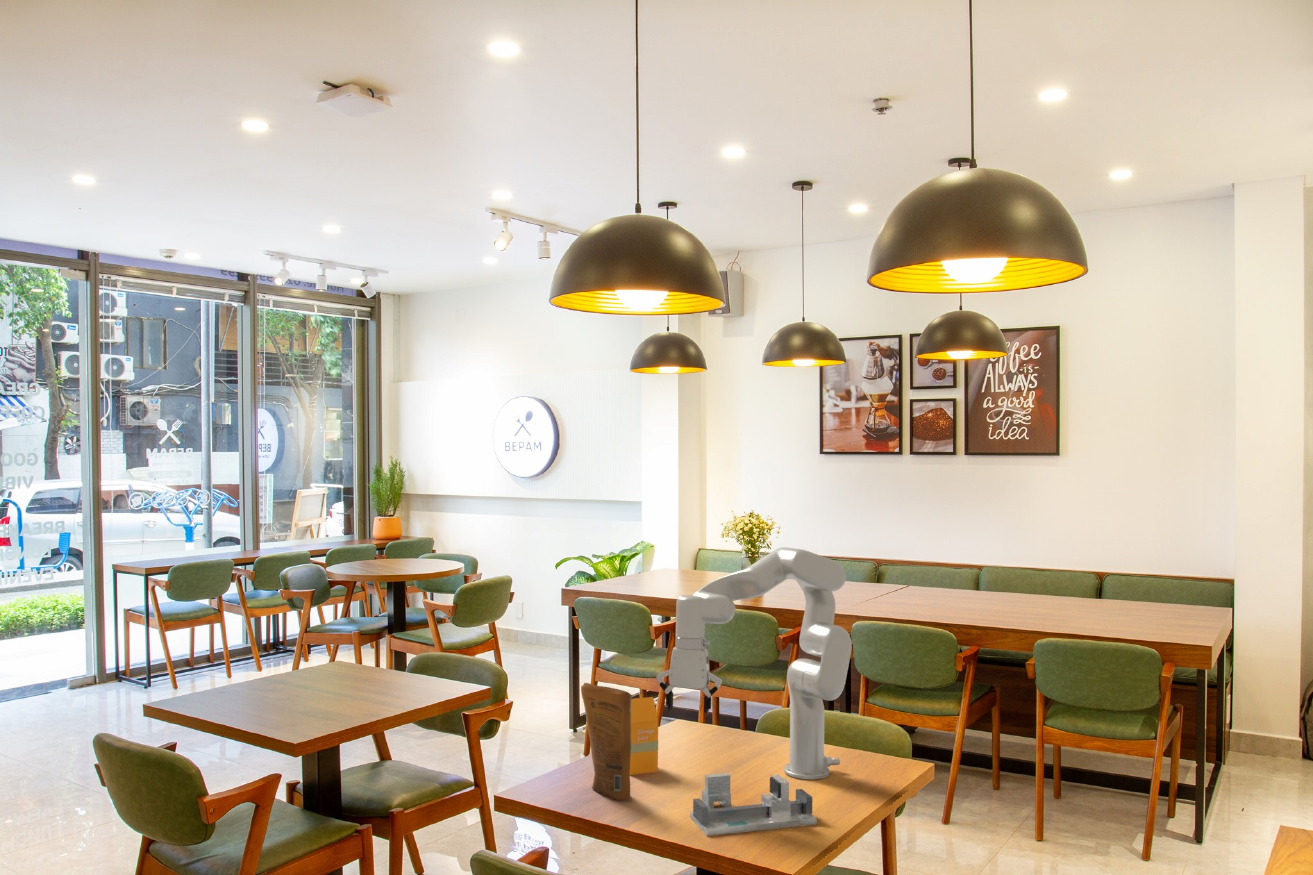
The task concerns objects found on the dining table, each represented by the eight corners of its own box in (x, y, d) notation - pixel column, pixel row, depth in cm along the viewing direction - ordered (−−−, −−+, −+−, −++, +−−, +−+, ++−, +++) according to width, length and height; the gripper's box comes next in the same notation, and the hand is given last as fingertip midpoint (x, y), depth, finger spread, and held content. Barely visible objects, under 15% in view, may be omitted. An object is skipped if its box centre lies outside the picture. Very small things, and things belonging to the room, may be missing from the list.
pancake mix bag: (620, 806, 235) (621, 693, 236) (577, 786, 250) (578, 680, 251) (641, 800, 240) (642, 690, 241) (597, 781, 254) (599, 677, 255)
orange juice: (618, 767, 267) (619, 696, 268) (647, 763, 270) (648, 693, 271) (628, 775, 260) (630, 702, 260) (658, 771, 263) (659, 699, 264)
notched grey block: (701, 803, 238) (701, 771, 238) (723, 801, 240) (723, 769, 240) (708, 810, 233) (708, 777, 234) (730, 808, 235) (731, 775, 235)
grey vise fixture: (796, 806, 236) (796, 768, 237) (817, 824, 225) (818, 784, 225) (688, 817, 228) (689, 778, 229) (705, 836, 217) (706, 794, 217)
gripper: (725, 643, 245) (723, 709, 245) (661, 639, 250) (659, 704, 249) (719, 648, 238) (718, 716, 237) (654, 643, 242) (652, 710, 242)
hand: (688, 710), depth 243 cm, fingers open, 9 cm apart
